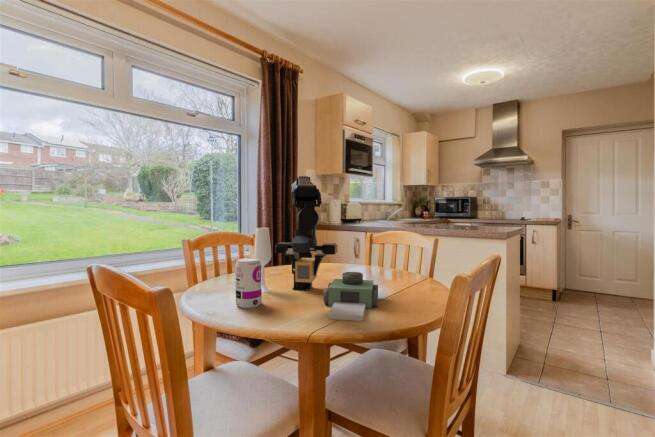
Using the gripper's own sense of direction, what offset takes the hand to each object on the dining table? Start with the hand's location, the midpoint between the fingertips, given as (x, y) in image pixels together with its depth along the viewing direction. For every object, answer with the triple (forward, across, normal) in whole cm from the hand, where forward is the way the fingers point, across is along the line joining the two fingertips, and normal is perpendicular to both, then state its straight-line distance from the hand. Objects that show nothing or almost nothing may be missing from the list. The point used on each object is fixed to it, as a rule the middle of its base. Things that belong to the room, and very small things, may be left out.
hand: (306, 275), depth 103 cm
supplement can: (+11, -20, +2) cm, 23 cm away
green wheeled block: (+11, +13, +6) cm, 18 cm away
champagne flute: (+11, -22, +20) cm, 32 cm away
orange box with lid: (+1, 0, 0) cm, 1 cm away
